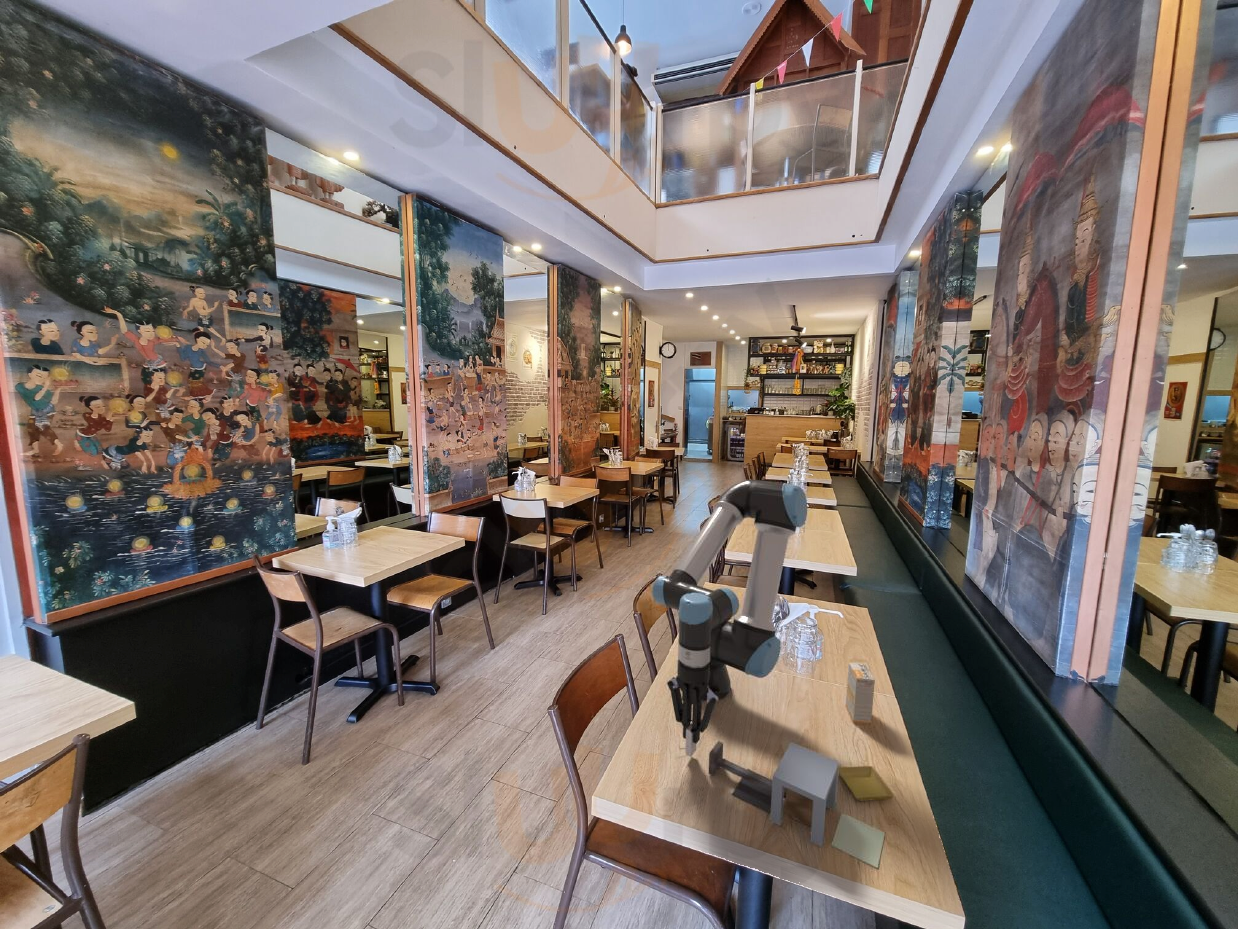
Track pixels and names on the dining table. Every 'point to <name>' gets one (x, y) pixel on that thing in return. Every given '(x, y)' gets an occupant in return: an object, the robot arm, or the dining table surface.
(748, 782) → the mat
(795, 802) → the push rod
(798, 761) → the tunnel
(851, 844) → the pad
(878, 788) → the yellow tray
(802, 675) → the dining table surface
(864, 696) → the supplement box
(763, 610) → the robot arm
